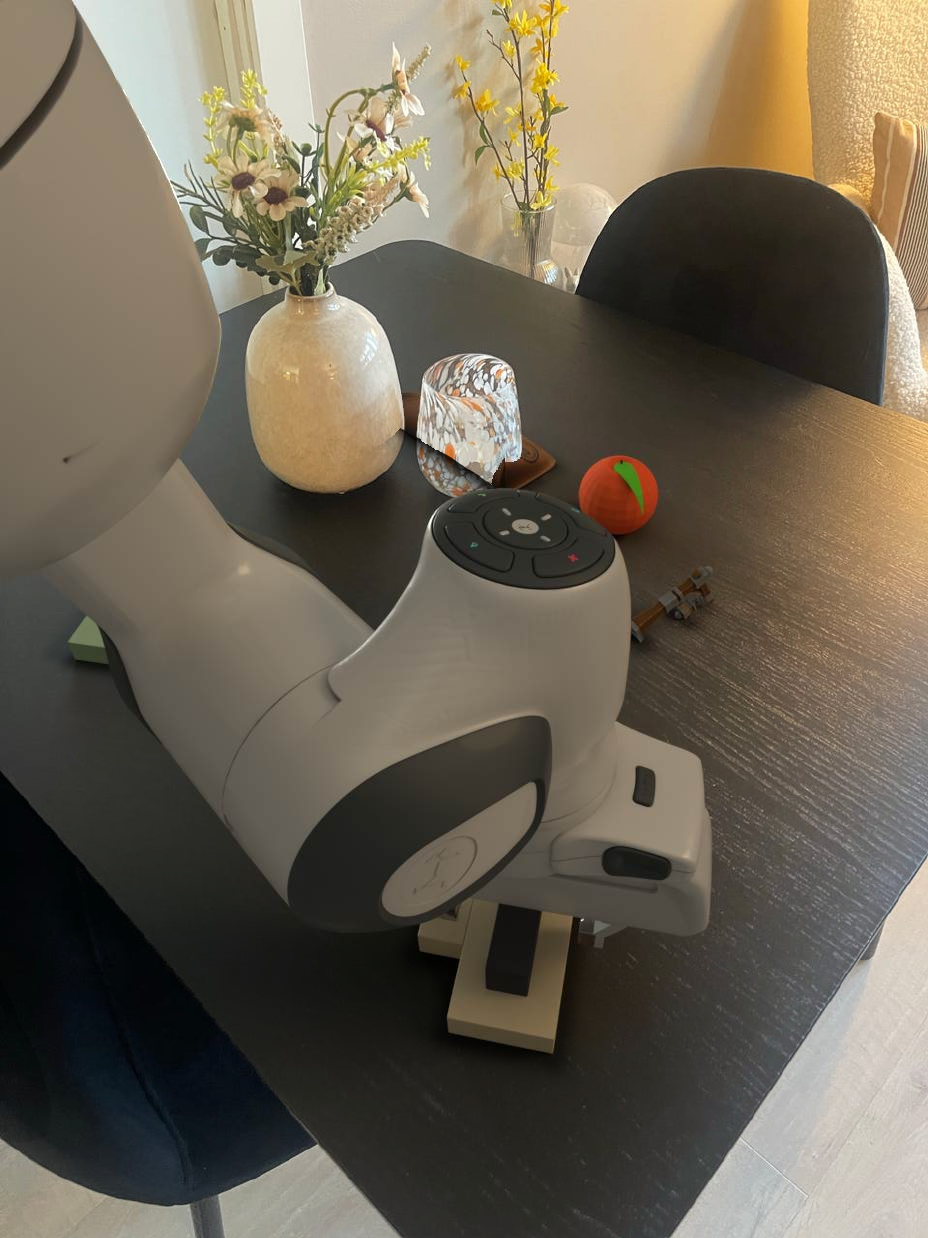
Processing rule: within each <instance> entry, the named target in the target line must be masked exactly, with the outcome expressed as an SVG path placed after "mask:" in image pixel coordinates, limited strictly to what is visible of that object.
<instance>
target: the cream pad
mask: <svg viewBox="0 0 928 1238" xmlns="http://www.w3.org/2000/svg"><path fill="white" fill-rule="evenodd" d="M573 918H574V917H573V916H567V915H562V914H556V913H551V912H545V911H539V910H534V909H528V908H523V907H517V906H511V905H506V904H500V903H495V902H489V901H483V900H478V899H472V898H468V899H466V900H465V901H464V902H462V905H461V908H460V909H459V917H458V921H450V920H444V919H439V918H435V919H433V920H430V921H428V922H425V923H422V924H419V929H418V933H417V941H418V948H419V952H421V953H426V954H427V953H428V954H431V955H432V954H433V955H437V956H443V957H448V958H453V959H457V960H459V962H458V967H457V970H456V971H457V972H456V976H455V980H454V983H453V984H454V985H453V988H452V994H451V998H450V1002H449V1007H448V1011H447V1015H446V1022H447V1032H448V1033H450V1034H454V1035H459V1036H464V1037H470V1038H475V1039H478V1040H485V1041H489V1042H494V1043H498V1044H504V1045H507V1046H513V1047H516V1048H517V1047H518V1048H522V1049H527V1050H531V1051H536V1052H537V1051H538V1052H542V1053H547V1054H554V1050H555V1041H556V1036H557V1028H558V1022H559V1015H560V1010H561V1009H560V1008H561V1001H562V994H563V988H564V987H563V986H564V981H565V974H566V968H567V967H566V966H567V960H568V953H569V946H570V940H571V934H572V933H571V932H572V925H573Z"/></svg>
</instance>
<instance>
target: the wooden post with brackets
mask: <svg viewBox="0 0 928 1238" xmlns="http://www.w3.org/2000/svg"><path fill="white" fill-rule="evenodd" d="M713 572H714V569H713V567H712V566H711V565H706V566H705V567H702V565H701V566H699V567H698V568H695V570H693V571H692V572H691V573H690V574H689V575H688V576H687V577H688V578H687V579H686V580H684V581H683V582H682V583H681V584H679V585H678V586H677V587H676V585H674V587H673V586H672V588H671V590H670V589H669V590H668V591H667V592H666V593H665V594H663V595H662V596H661V597H660V598H658V599H657V600H658V601H657V602H656V603H655V604H653V605H651V606H650V607H648V608H647V609H645V610H643V611H642V612H640V613H639V614H637V615H635V616H633V617H632V616H631V634H632V635H633V636H634V637H635V638H636V639H637V640H638V641H639V642H640V643H642V641H645V638H644V634H645V632H647V630H648V629H649V628H650V627H651V626H652V625H653V624H654V623H655V622H656V621H657V620H658V619H659V618H660V617H661V616H662V615H664V614H665V613H669V612H670V611H671V610H673V609H674V608H675V607H676V610H677V611H675V613H674V617H675V619H678V620H680V619H682V618H683V619H684V620H687V618H688V617H689V616H690V615H691V614H692V613H694V612H695V613H697V614H698V609H697V606H701V605H700V604H701V603H700V602H701V601H704V602H705V603H706V604H708V605H711V604H712V603H713V602H715V600H714V595H713V593H712V591H711V590H710V589H709V587H708V585H707V582H708V581H710V580H712V579H711V575H712V574H713ZM690 593H693V594H694V593H695V594H700V595H699V596H698V598H697V597H695V596H694V597H693V599H689V598H688V597H686V596H688V595H689V594H690ZM701 597H702V598H701ZM685 600H686V601H685ZM683 601H685V602H683ZM680 602H682V604H680Z"/></svg>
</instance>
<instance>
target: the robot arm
mask: <svg viewBox="0 0 928 1238" xmlns="http://www.w3.org/2000/svg"><path fill="white" fill-rule="evenodd" d="M201 260H202V259H201V257H200V255H199V252H198V250H197V245H196V243H195V241H194V238H193V236H192V233H191V230H190V227H189V224H188V223H187V219H186V217H185V214H184V212H183V209H182V207H181V205H180V202H179V199H178V197H177V195H176V192H175V190H174V188H173V185H172V183H171V180H170V178H169V177H168V175H167V172H166V170H165V168H164V166H163V163H162V161H161V159H160V158H159V155H158V153H157V151H156V149H155V147H154V145H153V143H152V141H151V139H150V137H149V135H148V133H147V130H146V129H145V127H144V126H143V124H142V122H141V120H140V118H139V116H138V114H137V112H136V111H135V108H134V107H133V105H132V103H131V100H130V99H129V97H128V96H127V94H126V92H125V90H124V88H123V86H122V84H121V83H120V82H119V79H118V78H117V76H116V74H115V72H114V71H113V69H112V67H111V65H110V64H109V61H108V60H107V57H105V55H104V53H103V51H102V49H101V48H100V46H99V45H98V42H97V41H96V39H95V37H94V35H93V33H92V31H91V29H90V28H89V27H88V24H87V23H86V21H85V20H84V17H83V16H82V14H81V13H80V11H79V9H78V8H77V6H76V4H75V3H74V1H73V0H0V585H3V584H5V583H8V582H11V581H14V580H17V579H20V578H22V577H23V578H24V577H26V576H29V575H32V574H34V573H37V575H38V576H40V577H41V578H42V579H43V580H45V582H47V583H48V584H49V585H50V586H51V587H52V588H54V589H55V590H56V591H58V592H59V593H60V594H61V595H62V596H63V597H64V598H66V599H67V601H68V602H70V603H71V604H72V605H74V606H75V607H76V608H77V609H78V610H79V611H81V613H83V614H84V615H85V616H88V617H89V618H90V619H91V620H93V621H94V622H95V623H96V624H97V626H98V628H99V631H100V634H101V637H102V640H103V643H104V647H105V651H106V655H107V659H108V663H109V664H108V667H109V670H110V673H111V677H112V680H113V683H114V684H115V688H116V691H117V693H118V695H119V696H120V698H121V700H122V701H123V703H124V704H125V706H126V707H127V708H128V710H129V711H130V712H131V713H132V714H133V715H134V717H136V719H137V720H138V721H139V722H140V723H141V724H142V725H143V726H144V728H145V729H146V730H147V731H148V732H149V733H150V734H151V735H152V737H154V738H155V739H156V740H157V742H158V743H160V744H161V745H162V746H163V747H164V748H165V749H166V751H167V752H168V753H169V754H170V756H171V757H172V758H173V760H174V761H175V762H176V764H177V765H178V767H179V768H180V769H181V770H182V771H183V773H184V774H185V775H186V776H187V778H188V780H190V782H191V783H192V784H193V785H194V787H195V788H196V790H197V791H198V792H199V794H200V796H202V797H203V798H204V800H205V801H206V802H207V804H208V805H209V807H210V808H211V809H212V810H213V811H214V813H215V814H216V816H217V817H218V818H219V819H220V820H221V822H222V823H223V825H224V826H225V827H226V829H228V831H229V832H230V834H231V835H232V836H233V838H234V839H235V841H236V842H237V843H238V844H239V846H240V847H241V849H242V850H243V851H244V852H245V854H246V855H247V856H248V857H249V858H250V860H251V861H252V863H253V864H254V865H255V866H256V867H257V869H258V870H259V871H260V873H262V875H263V876H264V878H265V879H266V880H267V881H268V883H269V884H270V886H271V887H272V888H273V889H274V890H275V892H276V893H277V894H278V895H279V896H280V898H281V899H282V900H283V901H284V902H285V904H286V905H287V906H288V907H289V908H290V910H291V912H292V914H293V915H294V916H295V918H297V920H298V921H300V922H301V923H302V924H305V925H306V926H309V927H312V928H315V929H319V930H322V931H327V932H334V933H341V934H343V933H344V934H346V933H347V934H364V933H365V934H367V933H377V932H385V931H392V930H397V929H398V930H399V929H402V928H407V927H413V926H418V925H420V924H422V923H425V922H428V921H430V920H433V919H435V918H439V919H444V920H450V921H458V917H459V909H460V908H461V905H462V902H464V901H465V900H466V899H468V898H472V899H478V900H483V901H489V902H495V903H500V904H506V905H511V906H517V907H523V908H528V909H534V910H539V911H545V912H551V913H556V914H562V915H567V916H573V918H580V921H579V929H578V935H577V944H578V945H583V946H588V947H593V948H595V949H603V948H604V945H605V938H608V937H610V936H611V935H612V936H613V935H614V934H616V933H618V932H620V931H623V930H625V929H627V927H630V928H636V929H641V930H647V931H651V932H657V933H663V934H668V935H673V936H678V937H690V936H694V935H697V934H700V933H702V932H705V931H706V929H707V927H708V924H709V919H710V913H711V896H712V895H711V894H712V880H713V878H712V874H713V872H712V871H713V870H712V869H713V830H712V821H711V816H710V813H709V811H708V809H707V808H706V806H705V804H706V803H705V801H706V800H705V783H704V772H703V765H702V761H701V760H702V759H700V758H699V756H697V755H696V754H695V753H693V752H692V751H689V750H686V749H684V748H682V747H679V746H677V745H673V744H670V743H667V742H666V741H662V740H660V739H658V738H654V737H651V736H650V735H648V734H645V733H642V732H640V731H637V730H635V729H633V728H631V727H629V726H626V725H624V724H622V723H620V722H619V721H617V719H618V717H619V714H620V712H621V709H622V707H623V704H624V700H625V695H626V686H627V681H628V672H629V665H630V664H629V663H630V654H631V653H630V652H631V638H632V637H631V636H632V632H631V618H632V597H631V587H630V580H629V575H628V570H627V569H628V568H627V565H626V563H625V559H624V556H623V553H622V550H621V548H620V546H619V543H618V541H617V540H616V539H615V537H614V535H613V534H611V533H610V532H609V531H608V530H606V529H605V528H604V527H603V526H602V525H600V524H599V523H598V522H597V521H595V520H594V519H593V518H591V517H590V516H588V515H587V514H585V513H583V512H582V510H581V509H579V508H577V507H575V506H573V505H571V504H570V503H568V502H566V501H564V500H562V499H559V498H557V497H556V496H553V495H550V494H547V493H544V492H536V491H531V490H526V489H520V490H519V489H512V488H498V489H497V488H485V489H479V490H474V491H469V492H466V493H462V494H459V495H457V496H454V497H452V498H450V499H448V500H447V501H445V502H444V503H442V504H441V505H440V506H439V507H438V508H437V509H436V510H435V511H434V512H433V514H432V515H431V517H430V519H429V521H428V523H427V526H426V529H425V532H424V534H423V538H422V545H421V550H420V556H419V559H418V563H417V566H416V568H415V571H414V573H413V575H412V577H411V579H410V581H409V583H408V584H407V586H406V588H405V589H404V591H403V592H402V594H401V595H400V597H399V599H398V601H397V602H396V604H395V605H394V607H393V608H392V609H391V611H390V612H389V613H388V615H387V616H386V617H385V619H383V621H382V622H381V623H380V625H378V627H377V628H376V629H375V630H374V629H373V628H372V627H371V626H370V625H369V624H368V623H367V622H365V620H364V619H362V618H361V617H360V616H359V615H358V614H356V612H355V611H353V610H352V609H351V608H350V606H348V605H347V604H346V603H345V602H344V601H342V599H340V598H339V597H338V596H337V595H336V594H335V593H334V591H333V590H332V589H331V588H330V587H329V586H328V584H327V583H326V582H325V581H324V580H323V578H321V577H320V575H318V574H317V573H316V571H314V569H313V568H311V566H309V564H308V563H307V562H306V561H305V560H304V559H303V558H302V557H301V556H300V555H298V554H297V553H296V552H295V551H294V550H292V549H291V548H289V547H287V546H285V545H284V544H282V543H280V542H278V541H276V540H274V539H272V538H269V537H268V536H265V535H262V534H259V533H257V532H254V531H252V530H249V529H246V528H244V527H242V526H239V525H237V524H234V523H232V522H230V521H227V520H226V519H225V518H223V516H222V515H221V514H220V513H219V510H218V509H217V508H216V507H215V505H214V504H213V502H212V501H211V500H210V498H209V497H208V496H207V495H206V493H205V491H204V490H203V489H202V487H201V486H200V484H199V483H198V482H197V480H196V479H195V478H194V477H193V475H192V473H191V472H190V471H189V469H188V467H186V465H185V464H184V462H183V461H182V459H181V458H180V457H181V455H182V453H183V452H184V450H185V448H186V447H187V444H188V443H189V441H190V439H191V438H192V436H193V434H194V432H195V430H196V429H197V426H198V425H199V422H200V420H201V417H202V414H203V412H204V410H205V407H206V404H207V402H208V400H209V397H210V394H211V392H212V391H211V390H212V387H213V383H214V379H215V375H216V372H217V368H218V362H219V356H220V350H221V341H222V323H221V318H220V314H219V312H218V308H217V306H216V302H215V299H214V296H213V293H212V290H211V287H210V284H209V281H208V278H207V275H206V272H205V269H204V266H203V264H202V261H201Z"/></svg>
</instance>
